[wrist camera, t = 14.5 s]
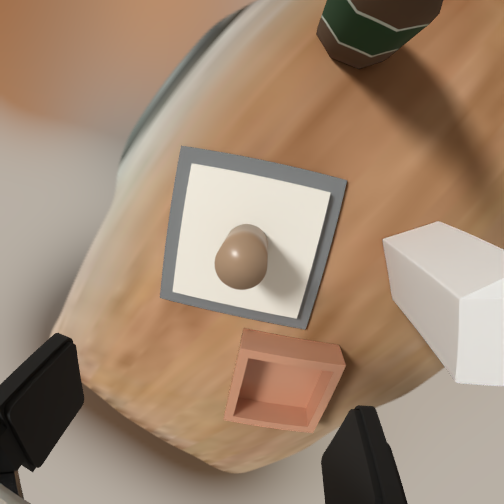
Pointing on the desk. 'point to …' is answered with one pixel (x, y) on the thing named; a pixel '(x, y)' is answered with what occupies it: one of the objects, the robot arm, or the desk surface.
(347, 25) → the beer bottle
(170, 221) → the mat
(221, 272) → the cover
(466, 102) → the desk surface
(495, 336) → the milk carton
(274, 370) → the terracotta square tray
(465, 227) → the desk surface
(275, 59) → the desk surface
